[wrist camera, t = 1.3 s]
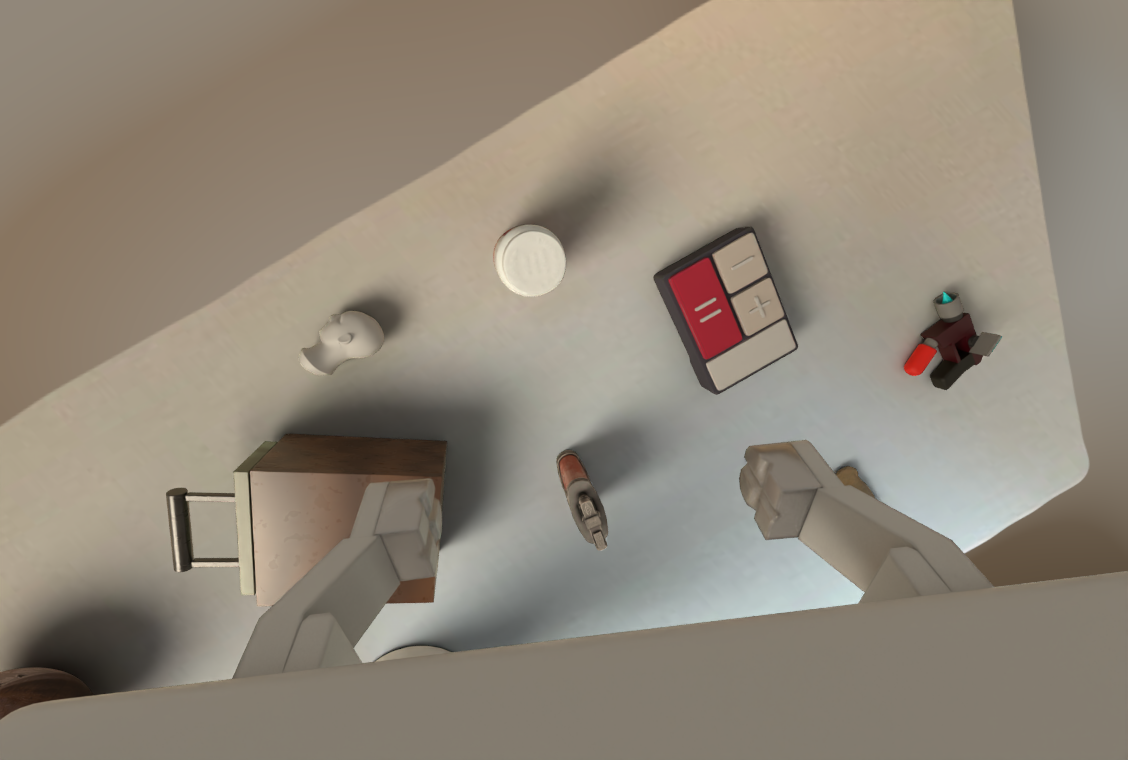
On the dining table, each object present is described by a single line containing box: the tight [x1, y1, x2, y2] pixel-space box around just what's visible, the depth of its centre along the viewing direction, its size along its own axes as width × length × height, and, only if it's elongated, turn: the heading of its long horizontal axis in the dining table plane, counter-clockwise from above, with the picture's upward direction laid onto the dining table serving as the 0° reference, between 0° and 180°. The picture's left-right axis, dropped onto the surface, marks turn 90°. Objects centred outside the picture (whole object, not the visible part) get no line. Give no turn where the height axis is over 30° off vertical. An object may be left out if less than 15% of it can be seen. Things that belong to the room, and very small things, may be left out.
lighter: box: [556, 450, 608, 550], centre depth 52 cm, size 8×3×10 cm, turn 19°
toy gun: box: [904, 292, 1002, 390], centre depth 58 cm, size 10×12×5 cm
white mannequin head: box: [298, 311, 384, 375], centre depth 46 cm, size 4×8×5 cm
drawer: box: [166, 441, 278, 595], centre depth 48 cm, size 21×13×7 cm, turn 83°
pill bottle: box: [493, 224, 566, 297], centre depth 43 cm, size 6×6×11 cm
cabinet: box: [250, 434, 447, 606], centre depth 49 cm, size 16×14×8 cm
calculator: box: [654, 227, 798, 394], centre depth 52 cm, size 11×4×15 cm
